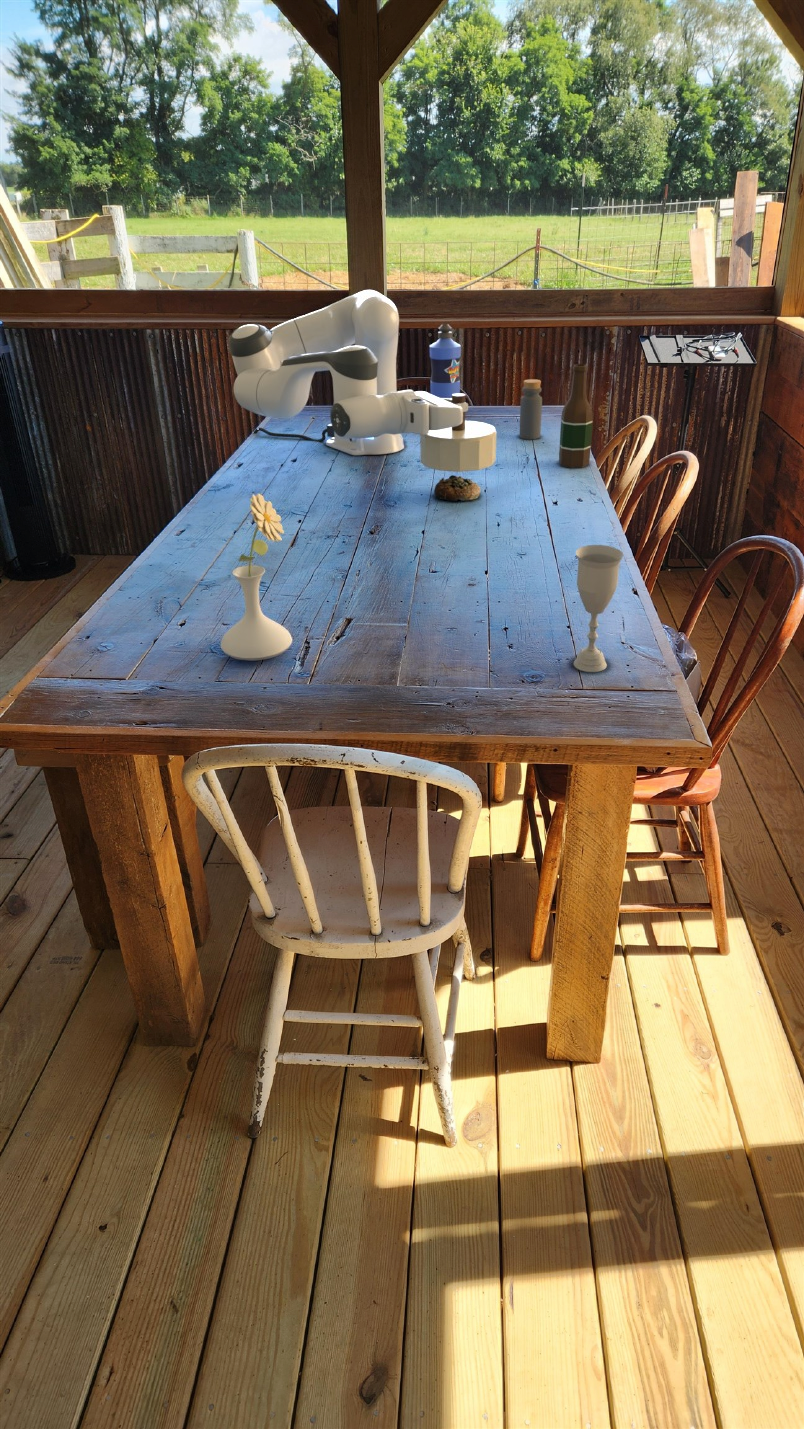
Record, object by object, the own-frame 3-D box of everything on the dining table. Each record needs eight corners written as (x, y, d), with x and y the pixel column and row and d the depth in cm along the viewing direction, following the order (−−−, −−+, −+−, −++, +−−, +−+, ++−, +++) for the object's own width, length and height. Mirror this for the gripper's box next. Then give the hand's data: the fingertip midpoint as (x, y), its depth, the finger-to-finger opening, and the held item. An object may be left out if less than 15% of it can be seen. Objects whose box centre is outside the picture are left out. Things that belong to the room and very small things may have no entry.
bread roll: (423, 495, 222) (426, 473, 220) (454, 490, 230) (456, 469, 228) (460, 506, 216) (463, 484, 214) (490, 501, 224) (493, 479, 221)
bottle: (540, 434, 269) (542, 378, 262) (540, 439, 264) (543, 382, 257) (519, 434, 270) (521, 378, 262) (519, 439, 265) (521, 382, 257)
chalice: (562, 655, 151) (570, 546, 142) (605, 652, 151) (615, 543, 142) (574, 676, 144) (582, 564, 135) (618, 674, 145) (629, 561, 136)
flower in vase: (262, 673, 148) (245, 516, 135) (206, 657, 153) (185, 504, 140) (313, 641, 157) (301, 491, 144) (259, 627, 162) (243, 481, 150)
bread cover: (413, 469, 214) (412, 401, 206) (432, 449, 228) (431, 385, 220) (486, 473, 210) (488, 404, 202) (500, 453, 223) (502, 388, 216)
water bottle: (466, 409, 297) (467, 323, 285) (446, 415, 292) (446, 327, 279) (443, 405, 303) (443, 320, 290) (423, 410, 297) (422, 324, 285)
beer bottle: (591, 460, 245) (599, 362, 233) (586, 469, 238) (594, 368, 226) (561, 458, 247) (567, 361, 235) (555, 467, 241) (561, 366, 229)
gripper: (386, 416, 218) (441, 409, 222) (425, 436, 201) (483, 428, 206) (385, 387, 215) (441, 381, 219) (425, 405, 198) (484, 398, 203)
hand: (462, 404), depth 213 cm, fingers closed on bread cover, 3 cm apart
